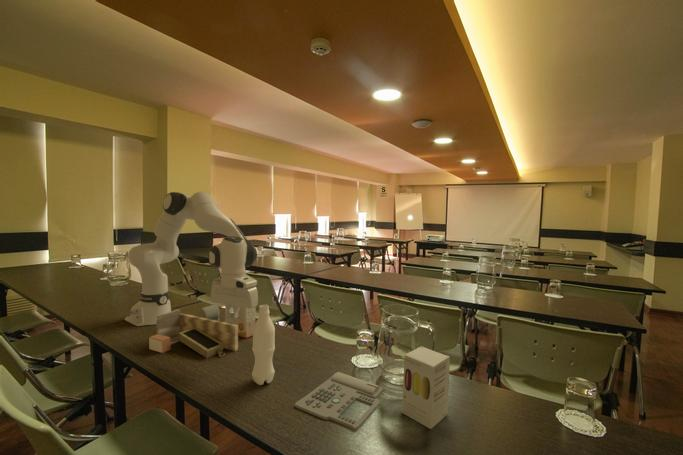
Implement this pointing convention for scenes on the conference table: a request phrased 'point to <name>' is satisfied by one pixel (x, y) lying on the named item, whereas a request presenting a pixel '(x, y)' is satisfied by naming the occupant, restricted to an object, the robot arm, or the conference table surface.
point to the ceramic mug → (210, 312)
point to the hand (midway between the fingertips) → (233, 316)
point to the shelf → (181, 322)
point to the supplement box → (425, 386)
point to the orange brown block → (159, 343)
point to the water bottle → (263, 347)
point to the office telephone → (340, 399)
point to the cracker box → (242, 321)
